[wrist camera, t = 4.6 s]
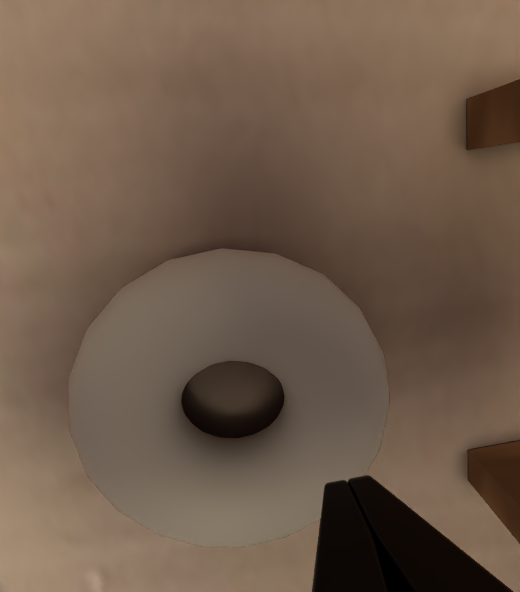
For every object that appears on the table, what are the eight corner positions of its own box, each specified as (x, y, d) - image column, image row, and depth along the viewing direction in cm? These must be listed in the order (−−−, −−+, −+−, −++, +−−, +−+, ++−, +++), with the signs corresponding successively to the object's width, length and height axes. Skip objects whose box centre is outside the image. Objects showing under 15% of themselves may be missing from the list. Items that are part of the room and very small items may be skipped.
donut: (-33, 347, 9) (351, 196, 9) (33, 306, 13) (317, 194, 13) (146, 620, 12) (444, 505, 12) (162, 528, 16) (396, 438, 15)
